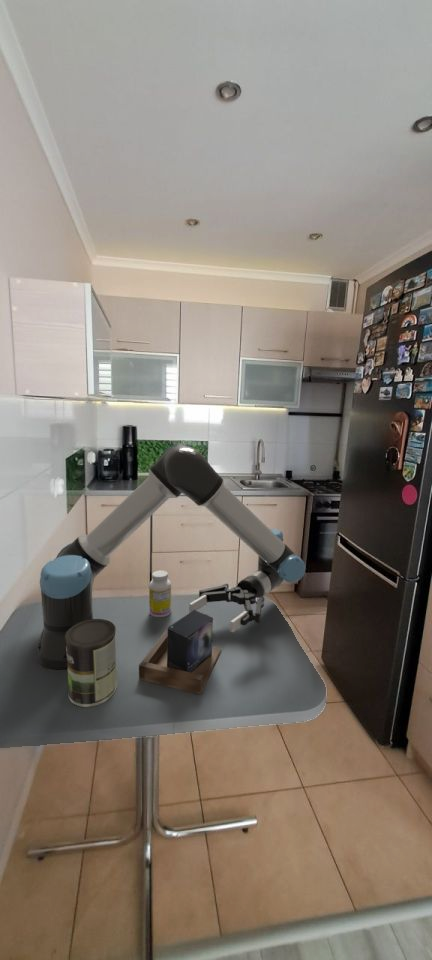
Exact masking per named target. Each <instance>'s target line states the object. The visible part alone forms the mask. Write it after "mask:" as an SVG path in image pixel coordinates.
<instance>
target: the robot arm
mask: <svg viewBox="0 0 432 960" xmlns="http://www.w3.org/2000/svg"><path fill="white" fill-rule="evenodd" d="M224 482H225V481H224V478H222V476H220V474H219V473H218V472H217V471H216V470H215V469H214V467H212V465H211V464H210V463H209V461H208V460H207V459H206V458H205V457H204V455H203V454H202V453H201V452H200V451H198V450H197V449H195V448H194V447H192V446H190V445H188V444H183V443H177V444H174V445H171V446H168V447H167V448H166V449H165V450H164V451H163V453H162V454H161V456H160V458H159V459H158V460H157V461H156V462H155V463H154V464H153V465H152V466H151V467H149V469H148V476H147V478H146V479H144V480H143V482H142V483H141V484H139V485H138V486H137V487H136V489H134V490H133V491H132V492H131V493H130V494H129V495H128V496H127V497H125V499H124V500H123V501H122V502H121V503H119V505H118V506H116V507H115V508H114V509H113V510H112V511H111V512H110V513H109V514H108V515H107V516H106V517H105V518H104V519H103V520H102V521H101V522H100V523H99V524H98V525H97V526H95V528H94V529H92V530H91V532H90V533H88V534H80V535H79V536H77V538H75V540H73V541H72V542H71V543H69V544H67V545H66V546H64V547H63V548H61V550H59V552H58V554H56V555H57V556H55V558H54V559H53V560H49V561H48V562H46V564H45V565H43V567H42V568H41V570H40V578H39V587H40V594H41V595H40V596H41V606H42V608H41V609H42V619H43V620H42V621H43V628H42V632H41V635H40V638H39V642H38V646H37V659H38V662H39V663H40V664H41V665H42V666H44V667H46V668H48V669H53V670H64V669H67V652H66V641H65V634H66V632H67V631H68V630H69V629H70V628H71V627H72V626H74V625H75V624H77V623H80V622H82V621H86V620H90V619H94V612H93V609H94V608H93V586H94V581H95V578H96V577H97V576H98V575H100V573H101V572H102V571H103V570H104V569H105V568H106V567H107V566H108V565H109V564H110V563H111V561H110V558H111V557H110V556H111V555H112V554H113V553H114V552H115V551H116V550H117V549H119V547H120V546H121V545H122V544H124V542H125V541H126V540H128V538H130V537H131V535H133V534H134V533H135V532H136V531H137V530H138V529H139V528H140V527H141V526H142V525H143V524H144V523H145V522H146V521H147V520H149V518H150V517H151V516H152V515H154V513H156V511H158V510H159V509H160V508H161V507H162V506H163V504H165V503H166V502H167V501H168V500H169V499H177V498H178V497H179V496H180V495H181V494H183V495H184V496H186V497H187V498H188V499H190V500H191V501H192V502H193V503H194V504H195V505H197V506H198V507H205V508H206V509H207V511H209V512H210V513H212V515H213V516H214V517H216V518H217V519H218V520H219V521H220V522H221V523H223V525H225V527H227V528H228V529H229V530H230V531H231V532H232V533H233V534H235V535H236V536H237V538H239V539H240V540H241V541H242V542H243V543H244V544H245V545H246V546H247V547H249V549H251V550H252V551H253V552H254V553H255V554H257V556H258V558H257V559H258V560H257V561H258V562H257V563H258V564H257V570H256V571H254V572H253V573H251V574H250V575H247V576H246V577H245V578H243V579H241V580H240V581H239V582H238V583H237V585H236V586H235V587H234V586H233V587H230V586H229V584H228V583H224V584H221V585H219V586H214V587H210V588H204V589H200V590H199V591H198V597H197V598H195V599H194V600H193V601H192V602H190V603H188V604H189V605H188V606H189V607H188V608H189V609H188V611H189V612H188V614H189V613H190V612H192V611H193V610H196V611H199V610H200V609H201V608H203V607H205V606H207V604H208V603H213V602H222V601H223V602H226V603H230V602H231V603H232V602H233V603H235V604H238V605H243V607H244V610H243V612H241V613H240V614H238V615H237V616H235V618H233V619H232V620H230V624H229V625H230V633H234V632H235V631H237V630H238V629H239V628H240V627H242V626H246V625H247V624H249V622H253V621H254V622H255V623H257V624H259V623H260V622H261V617H262V616H261V615H262V609H263V608H264V606H265V596H266V595H268V594H269V593H270V592H271V591H272V592H273V590H275V589H276V588H278V587H280V585H282V583H283V582H284V581H285V582H287V583H296V582H298V581H300V580H301V579H302V578H303V577H304V575H305V573H306V564H305V562H304V561H303V559H302V558H301V557H300V556H299V555H298V554H296V553H295V552H294V551H293V550H292V549H291V548H290V547H289V546H288V545H287V544H285V542H284V533H283V532H282V531H281V530H279V529H276V528H275V529H274V528H269V527H268V526H267V525H266V524H265V523H264V522H263V521H262V520H261V519H259V517H257V515H256V514H254V512H252V511H251V510H250V509H249V508H248V507H247V505H245V503H243V502H242V501H241V500H240V499H239V498H238V497H237V496H236V495H235V494H233V493H232V491H230V490H229V488H227V487H226V486H225V484H224ZM254 604H255V605H256V608H255V612H254V610H253V607H252V605H254Z"/></svg>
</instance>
